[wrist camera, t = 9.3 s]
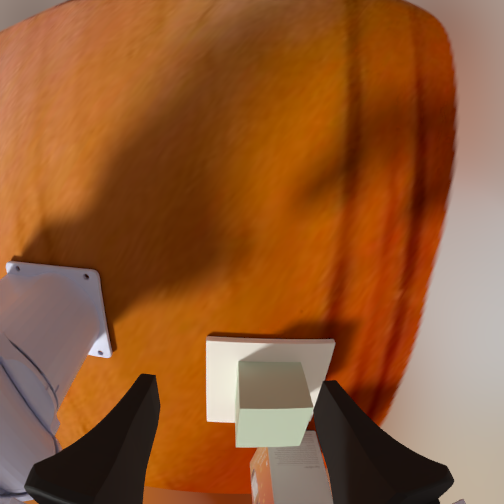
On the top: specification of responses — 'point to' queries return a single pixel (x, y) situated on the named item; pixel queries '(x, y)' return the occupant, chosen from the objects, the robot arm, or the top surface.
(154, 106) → the top surface
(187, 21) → the top surface
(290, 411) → the cube
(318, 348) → the tile
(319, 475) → the small box
